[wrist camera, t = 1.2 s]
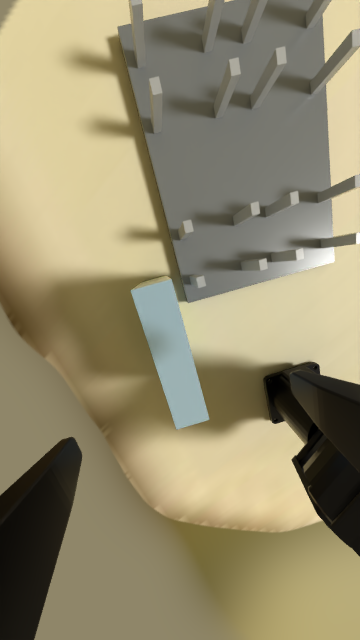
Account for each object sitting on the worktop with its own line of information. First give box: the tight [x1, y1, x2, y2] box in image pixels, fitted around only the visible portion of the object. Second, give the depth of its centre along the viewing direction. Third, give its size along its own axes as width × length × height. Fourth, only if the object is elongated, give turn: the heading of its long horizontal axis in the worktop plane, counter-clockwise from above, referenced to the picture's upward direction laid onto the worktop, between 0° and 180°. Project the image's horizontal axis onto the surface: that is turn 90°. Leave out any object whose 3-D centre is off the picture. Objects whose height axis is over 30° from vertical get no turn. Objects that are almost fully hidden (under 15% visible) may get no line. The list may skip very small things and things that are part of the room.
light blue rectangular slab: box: [130, 276, 210, 430], centre depth 16 cm, size 10×2×8 cm, turn 15°
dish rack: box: [118, 0, 360, 303], centre depth 15 cm, size 20×15×4 cm
